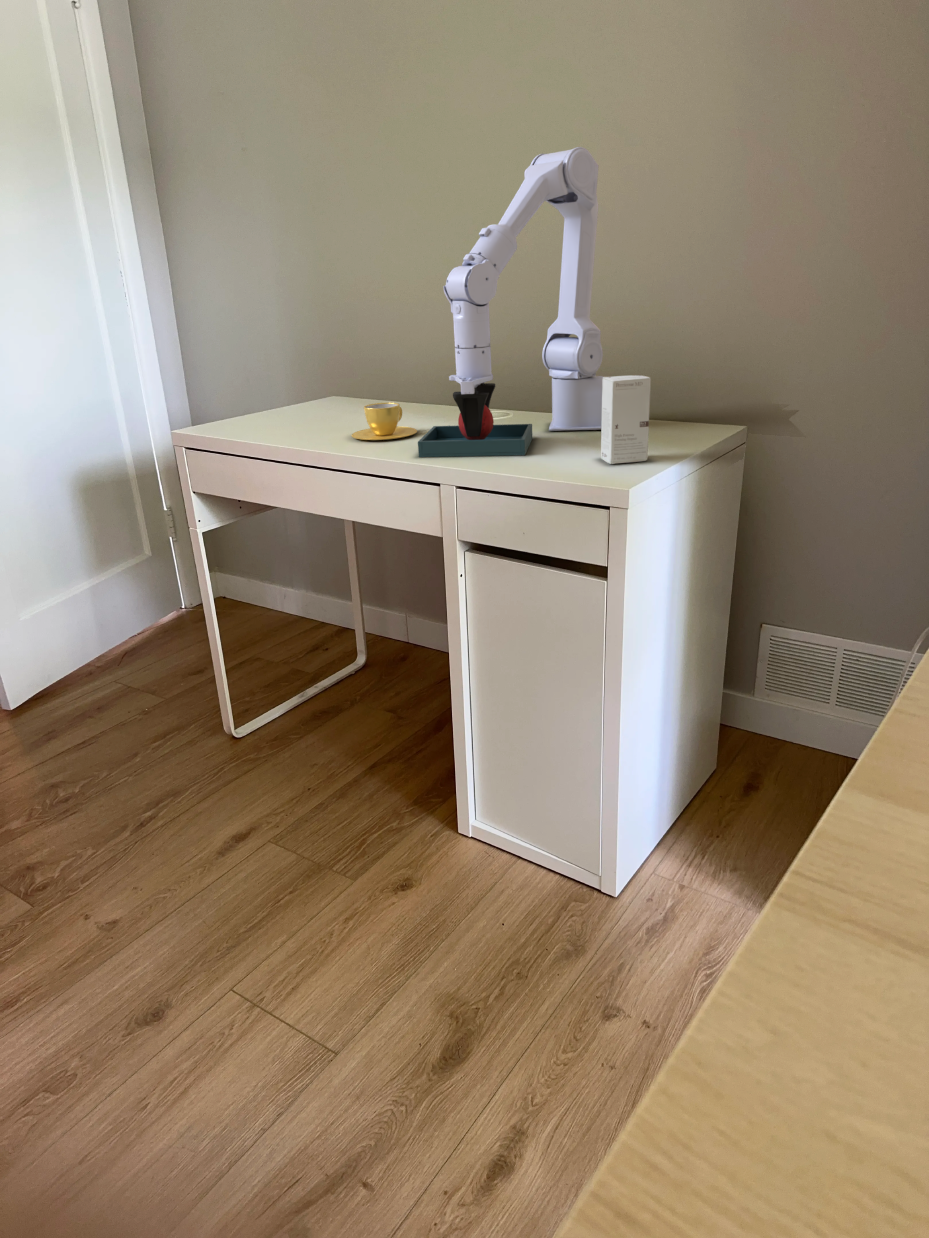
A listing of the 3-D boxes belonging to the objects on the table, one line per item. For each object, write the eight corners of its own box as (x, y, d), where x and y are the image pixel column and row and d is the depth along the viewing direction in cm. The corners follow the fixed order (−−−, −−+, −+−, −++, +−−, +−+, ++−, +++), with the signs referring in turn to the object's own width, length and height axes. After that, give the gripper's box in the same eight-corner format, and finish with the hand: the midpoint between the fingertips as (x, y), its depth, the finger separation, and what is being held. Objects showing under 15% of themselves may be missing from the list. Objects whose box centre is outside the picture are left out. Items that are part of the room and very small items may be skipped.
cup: (387, 444, 148) (384, 413, 146) (338, 439, 155) (334, 409, 153) (430, 431, 157) (428, 401, 155) (382, 427, 164) (379, 398, 161)
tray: (532, 438, 146) (532, 423, 145) (525, 455, 134) (524, 439, 133) (434, 440, 149) (433, 426, 148) (418, 457, 137) (417, 441, 136)
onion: (490, 448, 138) (488, 398, 135) (456, 448, 140) (453, 398, 136) (496, 440, 144) (495, 392, 140) (463, 441, 145) (460, 393, 142)
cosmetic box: (610, 465, 125) (611, 380, 120) (599, 459, 129) (600, 377, 124) (649, 461, 126) (652, 377, 122) (637, 455, 130) (639, 373, 126)
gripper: (455, 343, 143) (460, 424, 148) (439, 352, 130) (444, 441, 135) (497, 341, 142) (500, 423, 147) (485, 350, 128) (488, 440, 134)
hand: (476, 432), depth 141 cm, fingers closed on onion, 6 cm apart
